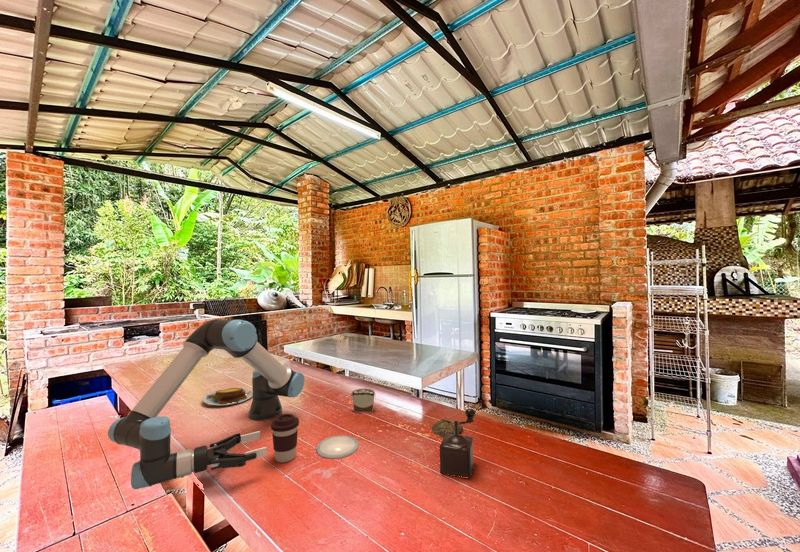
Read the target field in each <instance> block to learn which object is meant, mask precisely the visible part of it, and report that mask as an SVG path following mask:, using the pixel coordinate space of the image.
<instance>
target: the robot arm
mask: <svg viewBox="0 0 800 552" xmlns="http://www.w3.org/2000/svg"><path fill="white" fill-rule="evenodd" d="M182 345H183V346H182V349H181V350H180V351H179V352H178V353H177V355H176V356H175V357H174V358H173V359H172V360H171V362H170V363H169V364H168V365H167V366H166V368H165V369H164V370H163V372H162V373H161V374H160V375H159V377H158V378H157V379H156V380H155V381H154V382H153V384H152V385H151V387H150V388H149V389H148V390H147V391H146V393H144V395H143V396H142V397H141V399H140V400H139V401H138V402H137V403H136V404H135V406H134V407H133V408H132V409H131V411H130V412H129V413H128V415H126V416H124V417H123V416H122V417H120V418H118V419H115V421H113V422H112V423H111V425H110V426H109V428H108V430H107V437H108V439H109V441H111V442H114V443H116V444H117V445H121V446H127V447H131V448H134V449H137V450H139V453H140V454H139V460H138V461H136V462H134V463H133V464H132V467H131V473H130V485H131V488H132V489H134V490H139V489H144V488H149V487H150V488H151V487H153V486H155V485H159V484H161V483H165V482H169V481H172V480H176V479H178V478H179V479H180V478H182V479H183V478H185V477H186V476H190V475H192V473H193V472H194V474H198V473H202V472H205V471H207V470H208V466H210V471H214V470H217V469H226V468H227V469H228V468H243V467H244V466H246V464H247V463H246V462H249V461H253V460H255V459H259V458H262V457H266V456H267V455H268V453H267V448H268V447H267V446H264V447H261V448H259V447H258V448H256V449H252V450H249V451H245V453H233V452H228V451H229V450H230V449H232V448H234V447H235V446H237V445H239V444H245V443H250V442H253V441H258V440H261V430H258V431H253V432H249V433H246V434H241V433H240V432H237V433H234V434H232V435H230V436H227V437H225V438H223V439H221V440H218V441H216V442H213V443H210V444H209V448H208V447H207V445H202V446H198V447H195V448H194V449H193V450H192V448H189V449H185V450H180V451H177V452H172V453H171V437H172V436H171V435H172V434H171V433H172V428H171V421H170V418H169V417H168V416H164V415H163V416H159V414H160V413H161V412H162V411H163V409H164V408H165V407H166V405H167V403H168V402H169V401H170V400H171V399H172V397H173V396H174V394H176V393H177V391H178V390H179V388H180V387H181V386H182V384H183V383H184V381H185V380H186V379H187V377H188V376H190V374H191V372H192V371H193V370H194V369H195V368H196V366H197V364H198V363H199V362H200V361H201V359H202V358H206V357H207V356H208V355H209V353H210V352H212V350H215V349H216V350H223V351H224V352H226V353H228V354H229V355H230V356H232V357H233V358H235V359H242V360H243V361H244V362H245V363H247V364H248V365H249V366H250V367H252V369H254V370H253V372H252V380H251V383H252V384H251V385H252V392H253V396H252V402H251V405H250V408H249V411H248V418H249V419H250V420H253V421H266V420H270V419H274V418H276V417H278V416H280V415H282V413H283V406H282V403H281V401H280V398H279V397H280V396H281V397H286V398H297V397H298V396H299V395H300V394H301V393H302V391H303V389H304V386H305V376H304V374H303V373H302V372H300V371H295V370H293V369H292V368H291V367H290V366H289V365H287V364H282V363H281V362H279V361H278V360H277V358H275V356H273V355H272V354H271V353H270V352H269V351H268V350H267V349H266V348H265V347H264V346H262V344H261V343H260V342H258V334H257V329H256V327H255V325H254V324H253V323H251V322H249V321H247V320H244V319H223V318H216V319H215V318H214V319H211V320H208V321H206V322H204V323H203V324H201V325H200V326H199V327H197V328H196V329H195V330H194V331H193V332H192V333H191V334H190V335H188V337H187V338H186V339H185V341H184V342H183V343H182Z"/></svg>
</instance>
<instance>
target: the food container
mask: <svg viewBox="0 0 800 552" xmlns="http://www.w3.org/2000/svg"><path fill="white" fill-rule="evenodd" d="M375 396H376V392H375V390H374V389H371V388H365V387H364V388H363V387H362V388H357V389H355V390H353V391H351V395H350V397H351V399H352V406H353V413H374V404H375V403H374V401H375Z"/></svg>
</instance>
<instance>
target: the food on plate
mask: <svg viewBox="0 0 800 552" xmlns="http://www.w3.org/2000/svg"><path fill="white" fill-rule="evenodd" d="M245 394H247V396H248V397H247V396H246V395H245ZM250 398H253V390H252V389H249V388H246V387H241V386H240V387H239V386H237V387H234V386H233V387H226V388H221V389H217V390H213V391H211V392H209V393H206V394H205V395H204V396H203V397H202V402H203V403H204V404H206V406H209V407H210V406H229V405H235V404H236V403H232V402H238V403H237V404H239V403H243V402H245V401H247V400H249V399H250ZM227 403H231V404H227ZM223 404H224V405H223Z"/></svg>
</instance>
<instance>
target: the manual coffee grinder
mask: <svg viewBox="0 0 800 552" xmlns="http://www.w3.org/2000/svg"><path fill="white" fill-rule="evenodd" d="M464 414H465V416H466V419H465V421H458V420H455V421H454V423H455V424H454V427H455V434H446V433H445V436H444V438H442V440H441V443H440V445H439V473H444V474H449V475H455V476H460V477H461V476H462V477H468V478H470V477H471V478H472V476H471V474H472V475H473V473H472V471H473V472H474V471H475V466H473V465H475V463H474V437H473V436H471V435H470V436H468V435H462V434H458V426H459V425H465V424H472V423H474V422H475V421H474V418H475V416H476V414H477V412H476V411H475V410H474V408H466V409H465V411H464ZM444 474H443V475H444ZM449 475H448V476H449Z"/></svg>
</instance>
